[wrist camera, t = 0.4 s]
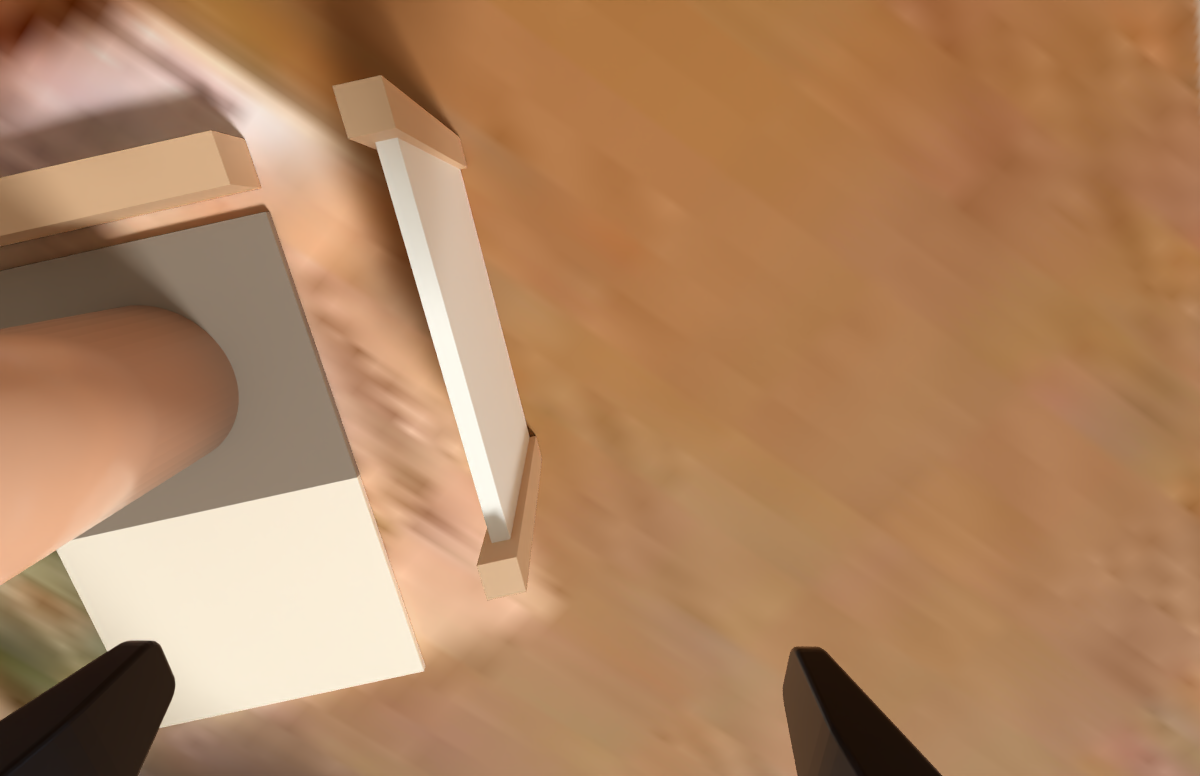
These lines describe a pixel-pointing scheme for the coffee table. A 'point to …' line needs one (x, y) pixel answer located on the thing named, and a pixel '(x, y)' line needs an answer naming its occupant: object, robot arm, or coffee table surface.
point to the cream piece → (274, 416)
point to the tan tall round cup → (100, 419)
